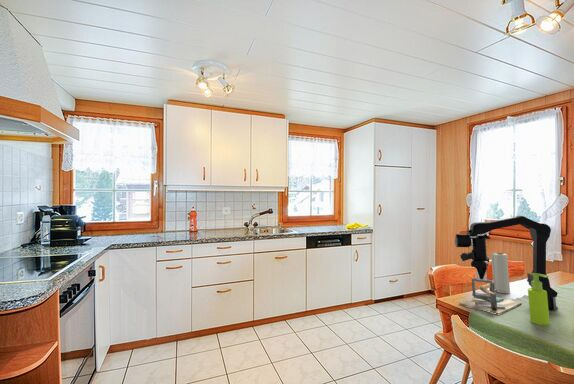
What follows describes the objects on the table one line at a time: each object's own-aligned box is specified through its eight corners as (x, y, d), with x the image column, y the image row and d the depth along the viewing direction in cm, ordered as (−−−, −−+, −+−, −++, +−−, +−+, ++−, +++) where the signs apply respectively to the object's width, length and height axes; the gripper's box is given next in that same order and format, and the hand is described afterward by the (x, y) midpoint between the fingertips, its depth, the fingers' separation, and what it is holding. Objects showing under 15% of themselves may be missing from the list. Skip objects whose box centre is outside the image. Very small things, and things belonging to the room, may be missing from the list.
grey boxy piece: (493, 299, 133) (491, 273, 134) (472, 296, 139) (470, 271, 140) (493, 297, 137) (491, 271, 137) (473, 294, 142) (471, 269, 143)
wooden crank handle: (495, 296, 143) (494, 282, 143) (497, 311, 124) (496, 294, 125) (480, 295, 146) (479, 281, 147) (480, 308, 128) (479, 292, 128)
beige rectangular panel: (521, 304, 134) (521, 300, 134) (499, 315, 121) (498, 310, 122) (482, 295, 148) (482, 292, 148) (458, 304, 136) (458, 300, 136)
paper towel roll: (512, 294, 149) (508, 254, 151) (499, 293, 151) (495, 254, 153) (506, 290, 156) (503, 252, 158) (493, 289, 158) (490, 252, 160)
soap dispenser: (548, 327, 108) (543, 276, 110) (527, 321, 115) (523, 272, 116) (556, 324, 111) (551, 274, 112) (535, 318, 117) (531, 271, 118)
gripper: (463, 244, 152) (465, 273, 151) (457, 248, 137) (460, 280, 136) (488, 245, 145) (490, 275, 143) (485, 250, 130) (487, 283, 129)
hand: (481, 278), depth 138 cm, fingers closed on grey boxy piece, 2 cm apart
